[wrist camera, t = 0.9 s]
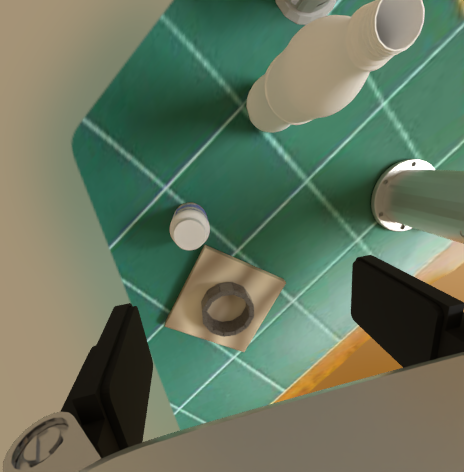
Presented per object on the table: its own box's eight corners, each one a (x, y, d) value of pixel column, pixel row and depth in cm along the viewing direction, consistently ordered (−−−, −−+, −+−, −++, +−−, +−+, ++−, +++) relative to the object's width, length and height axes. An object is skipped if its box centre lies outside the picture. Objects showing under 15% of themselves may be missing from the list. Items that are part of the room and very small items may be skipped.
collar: (258, 292, 44) (263, 301, 41) (236, 330, 46) (239, 342, 43) (215, 274, 42) (217, 283, 39) (193, 316, 44) (193, 326, 41)
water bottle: (242, 133, 37) (329, 92, 14) (243, 79, 35) (347, -81, 12) (288, 134, 38) (440, 97, 15) (291, 81, 36) (476, -60, 13)
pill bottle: (196, 240, 41) (198, 263, 32) (166, 224, 40) (159, 244, 31) (213, 212, 40) (219, 228, 31) (183, 195, 39) (180, 206, 30)
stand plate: (283, 278, 46) (286, 282, 44) (242, 346, 49) (244, 352, 48) (204, 244, 42) (205, 247, 40) (165, 321, 45) (164, 326, 43)
